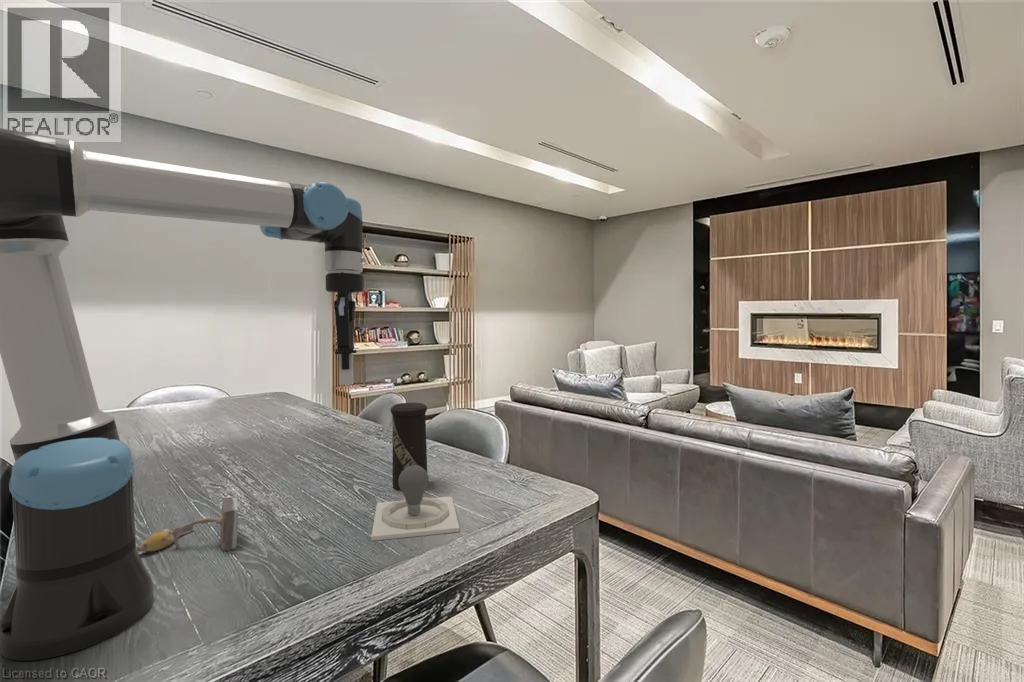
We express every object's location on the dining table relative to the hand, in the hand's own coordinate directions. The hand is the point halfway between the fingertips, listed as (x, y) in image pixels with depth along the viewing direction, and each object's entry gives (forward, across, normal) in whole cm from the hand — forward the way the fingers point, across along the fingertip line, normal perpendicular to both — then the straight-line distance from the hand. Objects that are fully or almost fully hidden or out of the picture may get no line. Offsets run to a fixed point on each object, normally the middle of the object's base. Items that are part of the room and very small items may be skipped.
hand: (346, 384), depth 100 cm
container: (+27, +10, -13) cm, 31 cm away
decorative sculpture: (+27, -11, +25) cm, 38 cm away
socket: (+26, -10, -14) cm, 32 cm away
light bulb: (+26, -10, -14) cm, 31 cm away
